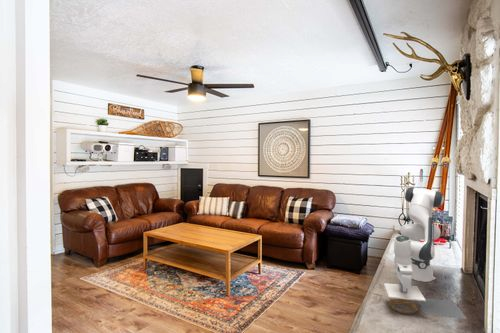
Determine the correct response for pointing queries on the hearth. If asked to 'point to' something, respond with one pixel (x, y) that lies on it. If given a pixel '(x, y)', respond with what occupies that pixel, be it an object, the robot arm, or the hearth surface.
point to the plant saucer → (402, 303)
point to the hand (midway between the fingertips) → (403, 289)
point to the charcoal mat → (441, 308)
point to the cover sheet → (397, 292)
